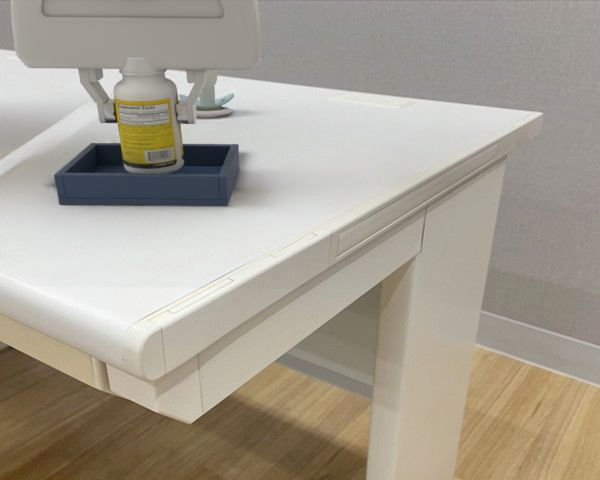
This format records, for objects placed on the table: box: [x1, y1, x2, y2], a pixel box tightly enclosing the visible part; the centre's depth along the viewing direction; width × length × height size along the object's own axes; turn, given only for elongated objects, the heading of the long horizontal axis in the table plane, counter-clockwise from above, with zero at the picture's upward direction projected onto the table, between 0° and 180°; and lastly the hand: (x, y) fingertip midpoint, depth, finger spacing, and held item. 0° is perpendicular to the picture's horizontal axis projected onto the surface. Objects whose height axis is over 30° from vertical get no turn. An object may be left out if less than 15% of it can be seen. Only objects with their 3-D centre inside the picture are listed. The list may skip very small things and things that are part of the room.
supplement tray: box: [53, 142, 240, 207], centre depth 58 cm, size 14×10×3 cm
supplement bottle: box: [113, 57, 184, 174], centre depth 55 cm, size 5×5×10 cm
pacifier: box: [178, 70, 235, 117], centre depth 84 cm, size 7×6×6 cm
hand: (149, 122), depth 56 cm, fingers closed on supplement bottle, 5 cm apart
